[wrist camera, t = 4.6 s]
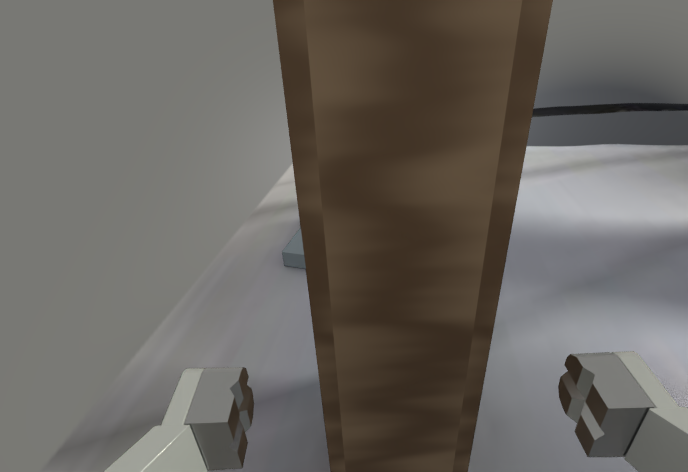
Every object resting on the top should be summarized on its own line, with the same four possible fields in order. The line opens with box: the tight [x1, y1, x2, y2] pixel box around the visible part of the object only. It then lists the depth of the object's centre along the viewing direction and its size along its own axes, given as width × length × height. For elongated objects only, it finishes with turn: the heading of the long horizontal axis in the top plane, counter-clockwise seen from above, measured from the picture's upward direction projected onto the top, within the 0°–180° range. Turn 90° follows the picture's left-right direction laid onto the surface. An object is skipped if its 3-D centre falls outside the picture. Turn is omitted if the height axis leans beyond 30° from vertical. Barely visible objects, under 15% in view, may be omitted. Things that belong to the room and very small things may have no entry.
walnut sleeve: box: [273, 0, 553, 472], centre depth 18 cm, size 6×6×24 cm
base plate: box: [282, 228, 306, 269], centre depth 41 cm, size 14×16×8 cm
